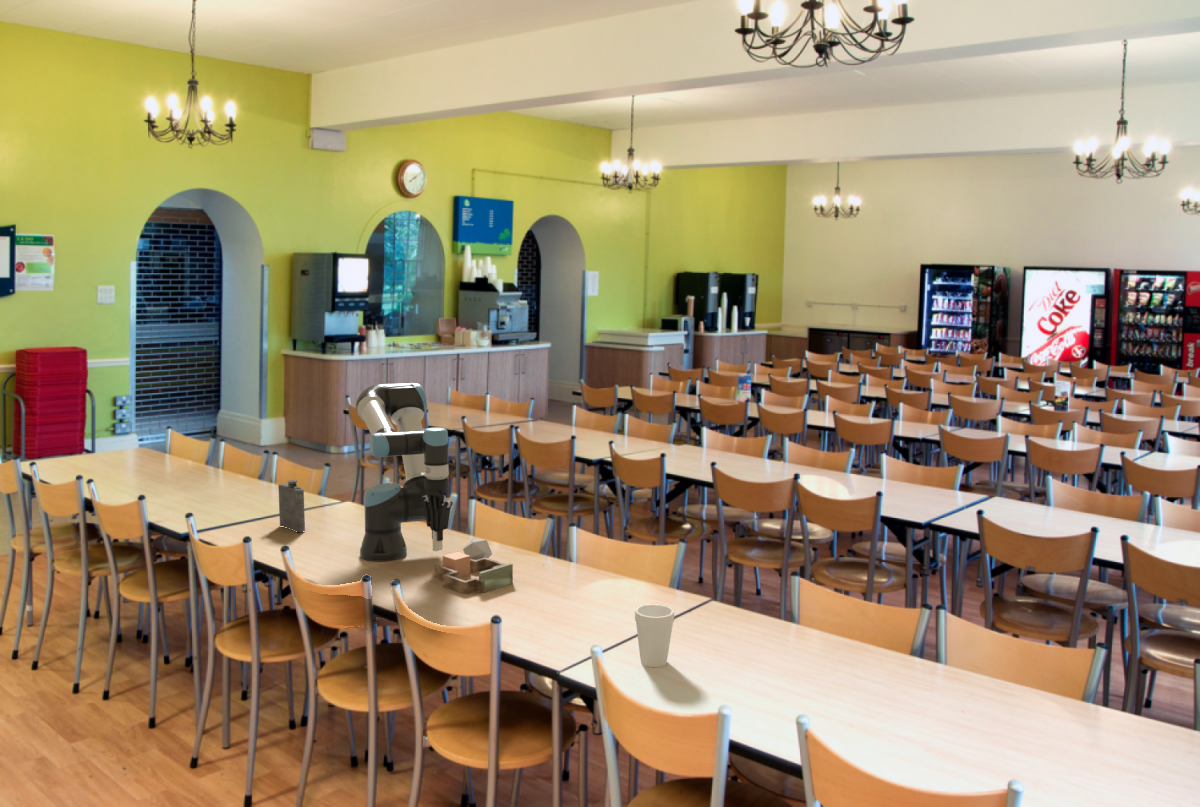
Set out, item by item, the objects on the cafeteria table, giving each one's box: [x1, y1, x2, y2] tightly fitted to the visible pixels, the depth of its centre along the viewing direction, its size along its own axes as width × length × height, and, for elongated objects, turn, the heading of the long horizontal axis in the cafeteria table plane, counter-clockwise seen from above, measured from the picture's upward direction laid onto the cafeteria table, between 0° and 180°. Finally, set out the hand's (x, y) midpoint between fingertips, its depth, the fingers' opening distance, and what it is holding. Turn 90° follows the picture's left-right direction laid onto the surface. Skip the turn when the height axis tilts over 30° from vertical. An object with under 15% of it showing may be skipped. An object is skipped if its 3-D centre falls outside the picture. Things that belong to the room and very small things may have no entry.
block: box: [442, 551, 471, 578], centre depth 295 cm, size 6×6×6 cm
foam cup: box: [634, 603, 675, 668], centre depth 230 cm, size 10×9×13 cm
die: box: [462, 537, 493, 560], centre depth 307 cm, size 8×9×10 cm
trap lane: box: [434, 557, 514, 595], centre depth 290 cm, size 22×20×6 cm
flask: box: [278, 479, 306, 533], centre depth 344 cm, size 4×14×18 cm, turn 49°
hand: (437, 549), depth 301 cm, fingers closed
